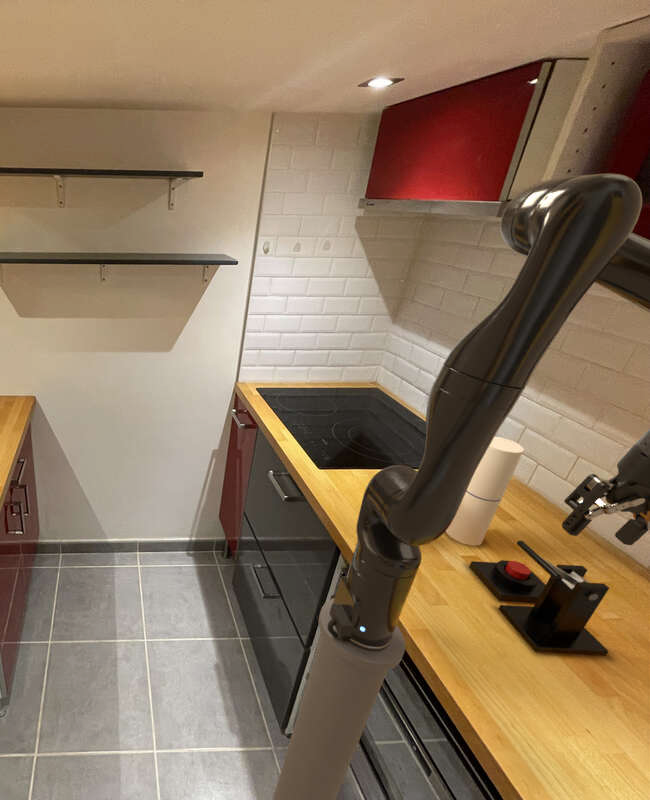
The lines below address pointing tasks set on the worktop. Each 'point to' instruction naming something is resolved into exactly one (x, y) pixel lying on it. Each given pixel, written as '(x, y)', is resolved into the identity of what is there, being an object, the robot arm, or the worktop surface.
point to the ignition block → (507, 582)
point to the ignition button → (518, 570)
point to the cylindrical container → (485, 492)
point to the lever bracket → (560, 616)
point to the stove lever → (552, 567)
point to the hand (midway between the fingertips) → (594, 536)
